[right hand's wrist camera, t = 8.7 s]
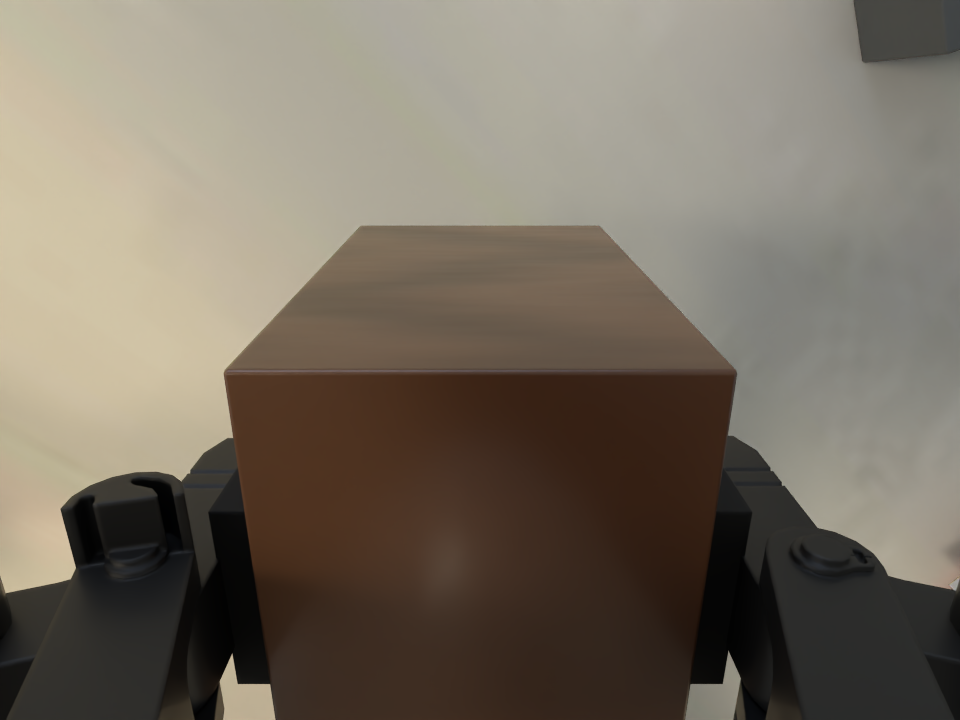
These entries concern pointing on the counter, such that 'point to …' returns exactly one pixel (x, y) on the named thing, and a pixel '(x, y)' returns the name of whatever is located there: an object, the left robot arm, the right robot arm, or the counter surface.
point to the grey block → (907, 28)
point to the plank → (480, 480)
